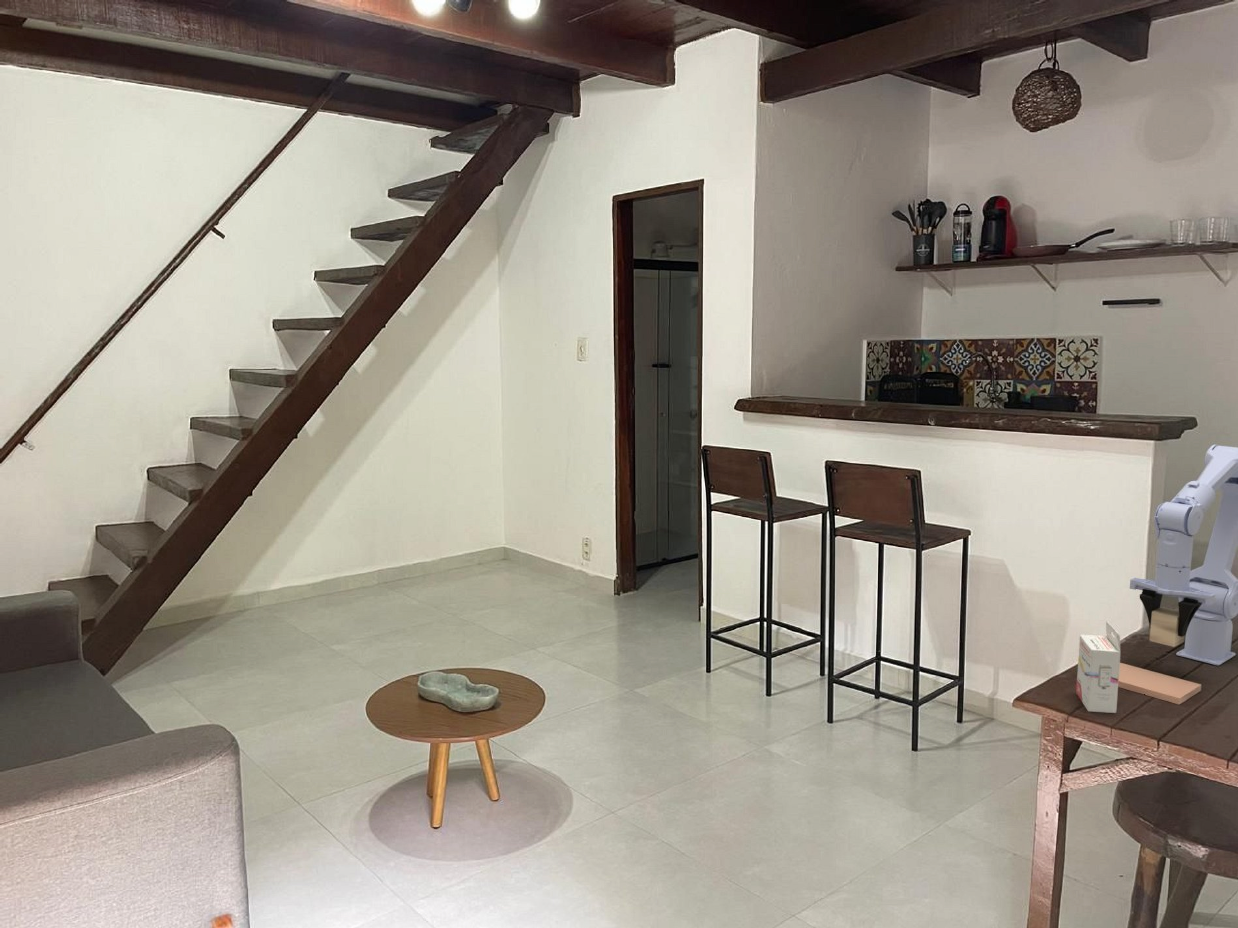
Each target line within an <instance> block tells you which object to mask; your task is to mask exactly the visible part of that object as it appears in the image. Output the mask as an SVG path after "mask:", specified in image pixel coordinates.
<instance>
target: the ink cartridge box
mask: <svg viewBox="0 0 1238 928" xmlns="http://www.w3.org/2000/svg"><path fill="white" fill-rule="evenodd" d="M1105 627H1106V629H1105V630H1106V635H1092V634H1079V643H1078V644H1079V645H1078V648H1079V649H1078V663H1077V675H1076V688H1075V690H1076V691H1075V694H1076V695H1077V696H1078V698H1079V700H1080V701H1081V702H1082V704H1083V706H1084V707H1085V708H1086V710H1087V712H1092V713H1093V712H1094V713H1108V714H1110V713H1111V714H1116V713H1117V709H1118V708H1117V707H1118V696H1119V695H1118V693H1119V692H1118V691H1119V687H1118V681H1119V668H1120V663H1121V635H1120V633H1119V632H1118V631H1117V630H1116V628H1114V626H1113V625H1112V624H1111V623H1110V622H1109V620H1106V622H1105ZM1112 633H1113V634H1112Z"/></svg>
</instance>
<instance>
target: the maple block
mask: <svg viewBox="0 0 1238 928" xmlns="http://www.w3.org/2000/svg"><path fill="white" fill-rule="evenodd" d="M1178 626H1179V609H1174V608H1169V607H1163V606H1160V608H1158V609H1156V610H1154V611H1152V617H1151V628H1150V627H1149V641H1148V642H1151V643H1152V642H1153V643H1156V644H1161V645H1164V646H1169V647H1172V648H1176V647H1177V646H1179V645H1181V644H1182V643H1185V636H1183V637H1180V636H1178Z"/></svg>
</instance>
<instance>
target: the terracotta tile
mask: <svg viewBox="0 0 1238 928" xmlns="http://www.w3.org/2000/svg"><path fill="white" fill-rule="evenodd" d="M1118 688H1119V689H1124V690H1128V691H1131V692H1134V693H1138V694H1140V695H1144V694H1145V696H1147V697H1152V698H1155V699H1159V700H1162V701H1166V702H1168V703H1172V704H1175V705H1181V704H1183V703H1184V702H1186V701H1188V700H1189V699H1190V698H1192V697H1194V696H1195V695H1196V694H1198V693H1199V692H1202V684H1201V683H1197V682H1194V681H1190V680H1185V679H1182V678H1178V677H1174V676H1171V675H1168V674H1167V675H1166V674H1164V673H1161V672H1156V671H1152V670H1149V669H1145V668H1141V667H1137V666H1134V665H1130V664H1126V663H1123V662H1120V668H1119V681H1118Z"/></svg>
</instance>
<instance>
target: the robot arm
mask: <svg viewBox="0 0 1238 928" xmlns="http://www.w3.org/2000/svg"><path fill="white" fill-rule="evenodd" d="M1203 462H1204V469H1203V470H1202V472H1201V473H1200V474H1199V476H1198V478H1197V480H1192V481H1189V482H1187V483H1185V485H1184V486H1183V487H1182V488H1181V489H1180V490H1179V492H1178V493H1177V494H1176V495H1175V496H1174V497H1173V498H1172V500H1170V501H1164V502H1163V503H1160V504H1159V505H1158V506H1157V508H1156V510H1155V514H1154V516H1153V523H1154V528H1155V537H1156V540H1158V541H1157V542H1158V544H1157V556H1156V567H1155V575H1154V578H1155V579H1154V580H1152V579H1144V578H1139V577H1138V578H1137V577H1133V578H1130V580H1129V590H1135V591H1136V590H1139V591H1141V593H1140V594H1139V600H1140V601H1141V603H1142V606H1143V607H1144V609H1145V613H1146V615H1147V620H1148V626H1149V629H1150V628H1151V617H1152V611H1154V610H1156V609H1158V608H1160V607H1161V603H1162V599H1163V596H1167V597H1172V598H1178V611H1179V626H1178V636H1180V637H1183V636H1184V648H1182V649H1180V650H1179V651H1177V652H1176V653H1175V654H1176V656H1178V657H1183V658H1187V659H1191V660H1195V661H1198V662H1202V663H1206V664H1211V665H1214V666H1221V665H1222V664H1223V663H1226V662H1227V661H1228V660H1230V659H1231V658H1233V657H1234V656H1236V652H1234V651H1231V649H1232V639H1233V631H1234V630H1233V628H1234V627H1233V626H1234V625H1233V621H1232V620H1231V619H1233V618H1235V617H1237V615H1238V578H1237V577H1236V576H1235V575H1234V574H1233V573H1232V567H1233V564H1234V562H1235V561H1234V560H1235V556H1236V554H1237V549H1238V447H1237V446H1236V447H1235V446H1226V445H1219V444H1212V445H1211V446H1210V447H1209V448H1208V449H1207V450H1206V452H1205V455H1204V461H1203ZM1217 490H1220V491H1221V492H1222V497H1221V500H1220V503H1219V508H1218V510H1217V514H1216V518H1215V522H1214V525H1213V529H1212V532H1211V536H1210V539H1209V543H1208V546H1207V549H1206V553H1205V556H1204V560H1203V563H1202V565H1201V566H1199V567H1196V568H1194V569H1192V558H1193V547H1194V536H1195V535H1196V534H1198V532H1199V530H1200V528H1201V525H1202V522H1203V520H1204V514H1205V513H1206V512H1207V510H1208V509H1209V508H1210V507H1211V506H1212V505H1213V503H1214V502H1215V500H1216V491H1217ZM1191 569H1192V570H1191Z"/></svg>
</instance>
